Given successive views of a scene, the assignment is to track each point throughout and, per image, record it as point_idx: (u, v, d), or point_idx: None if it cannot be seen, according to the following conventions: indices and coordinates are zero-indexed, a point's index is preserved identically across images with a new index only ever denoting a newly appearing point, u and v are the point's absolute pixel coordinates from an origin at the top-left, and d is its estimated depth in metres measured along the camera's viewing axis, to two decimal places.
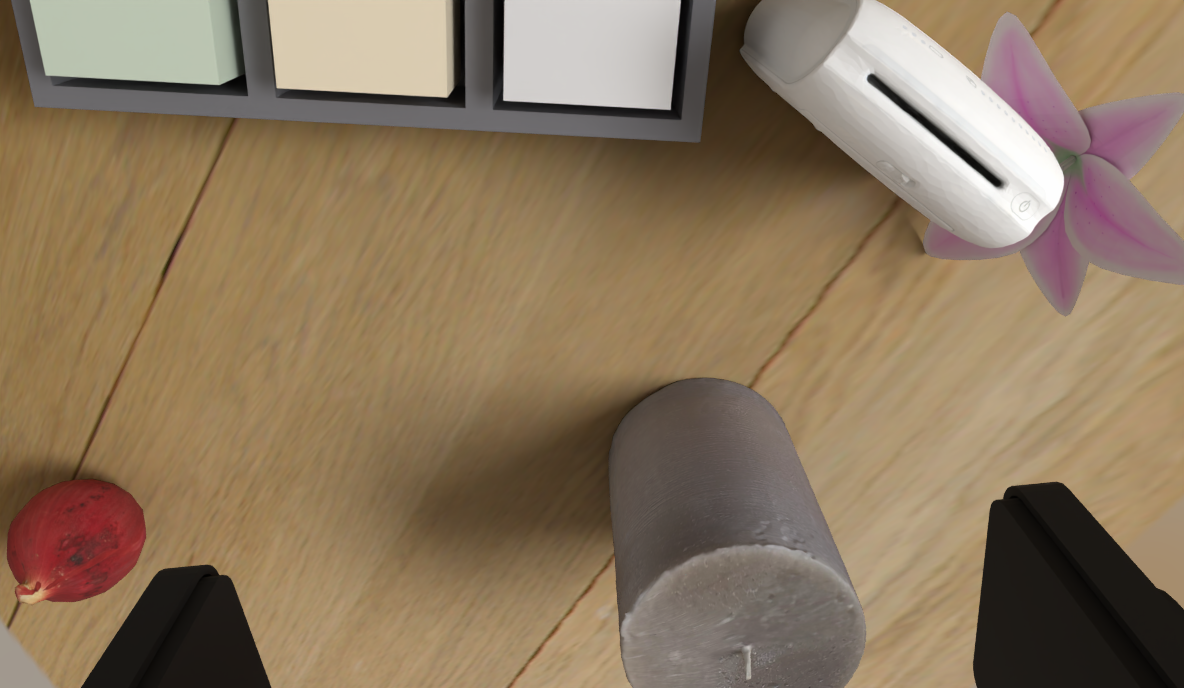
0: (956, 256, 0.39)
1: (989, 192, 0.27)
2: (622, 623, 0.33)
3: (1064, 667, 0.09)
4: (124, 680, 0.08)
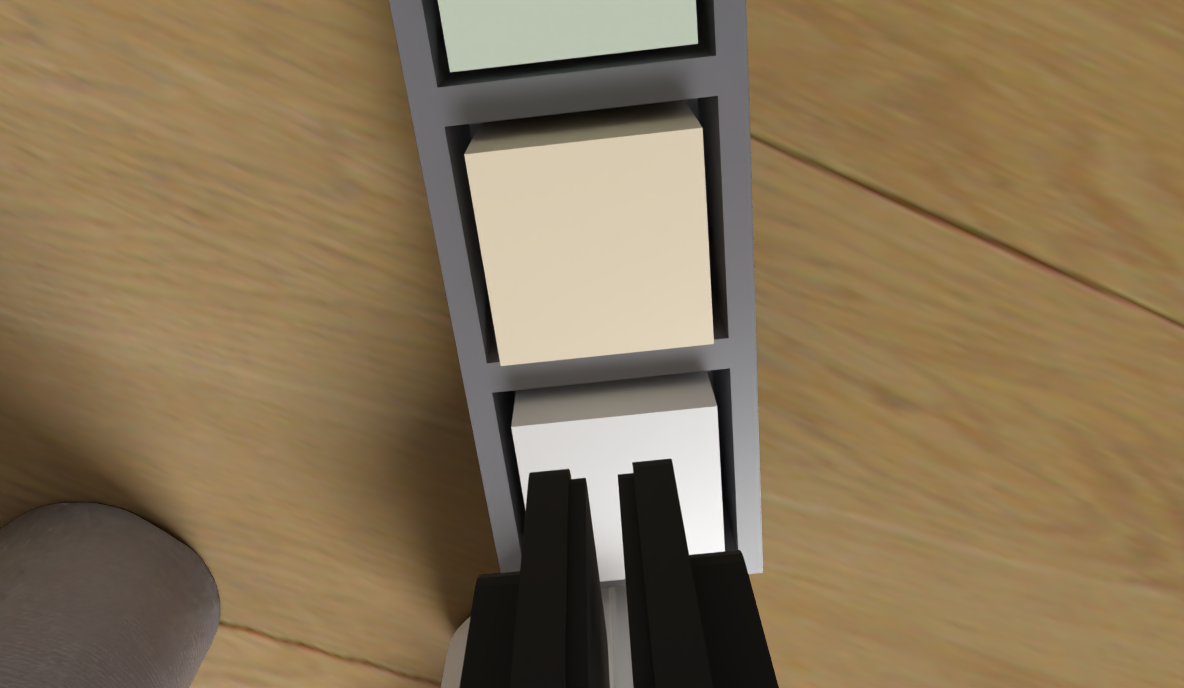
0: None
1: None
2: None
3: None
4: (559, 554, 0.09)
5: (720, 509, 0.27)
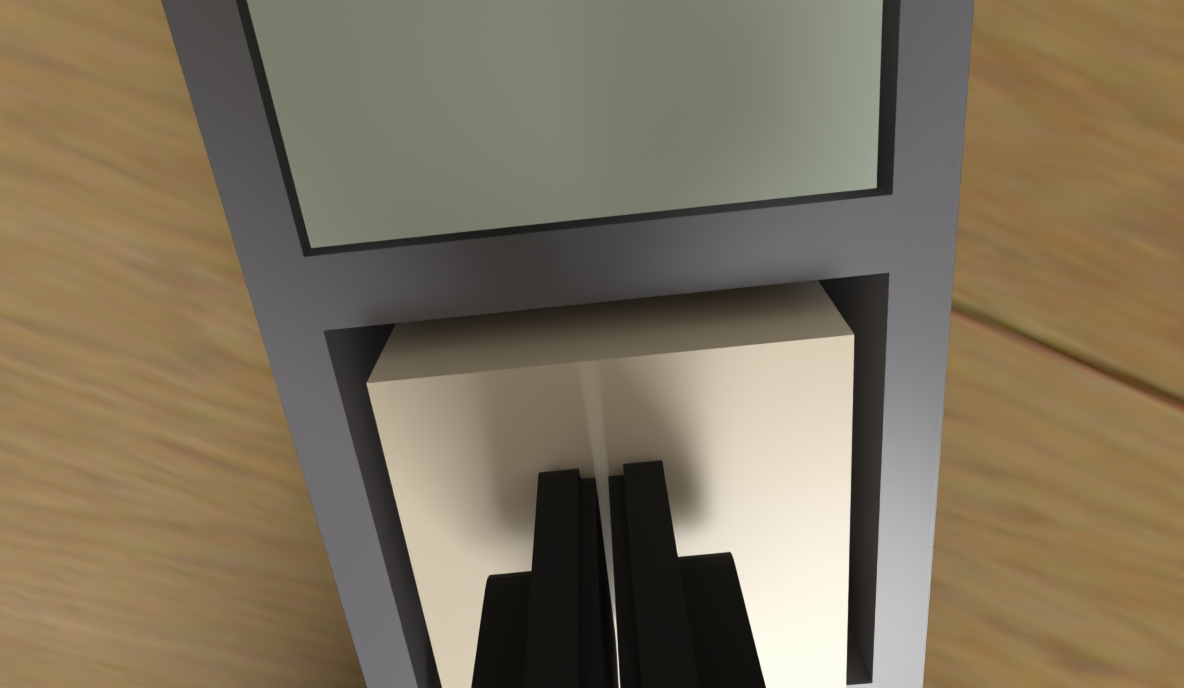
0: None
1: None
2: None
3: None
4: (570, 554, 0.09)
5: None
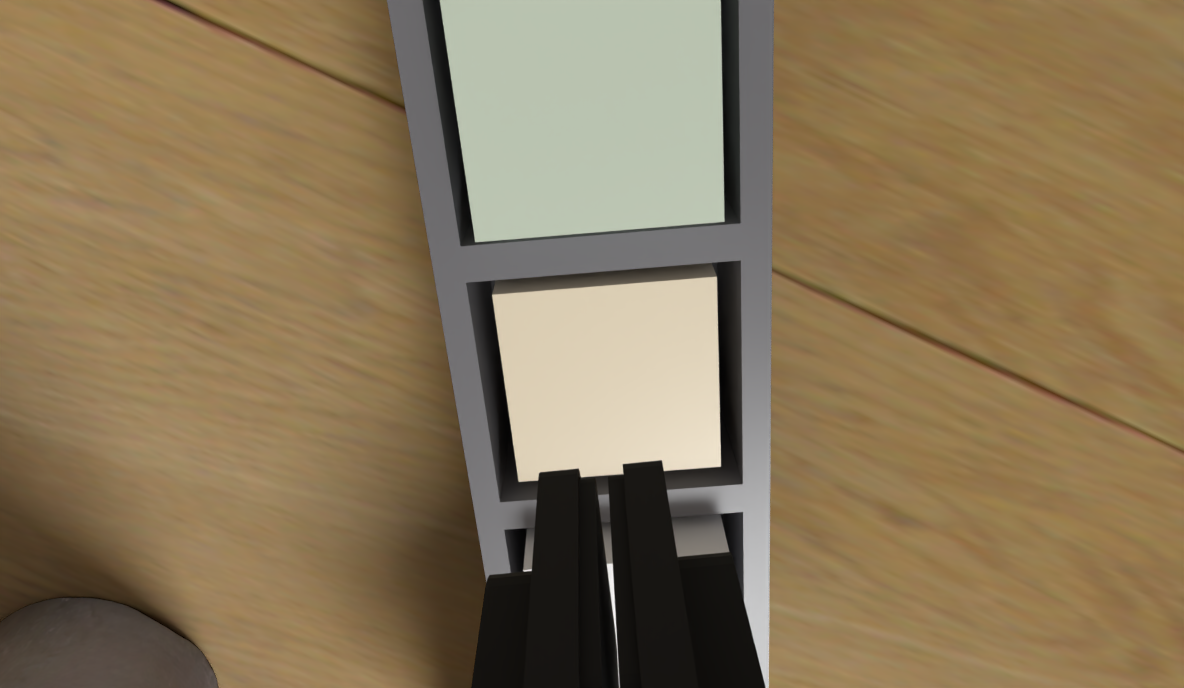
0: None
1: None
2: None
3: None
4: (571, 554, 0.09)
5: None
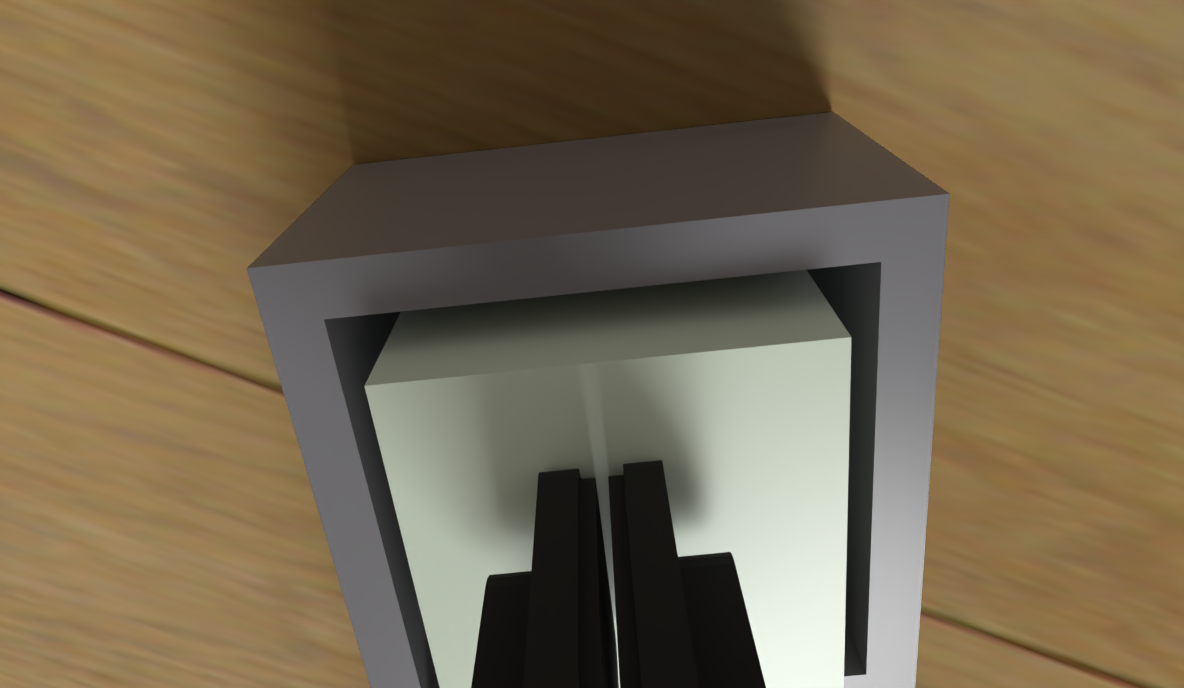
0: None
1: None
2: None
3: None
4: (570, 554, 0.09)
5: None
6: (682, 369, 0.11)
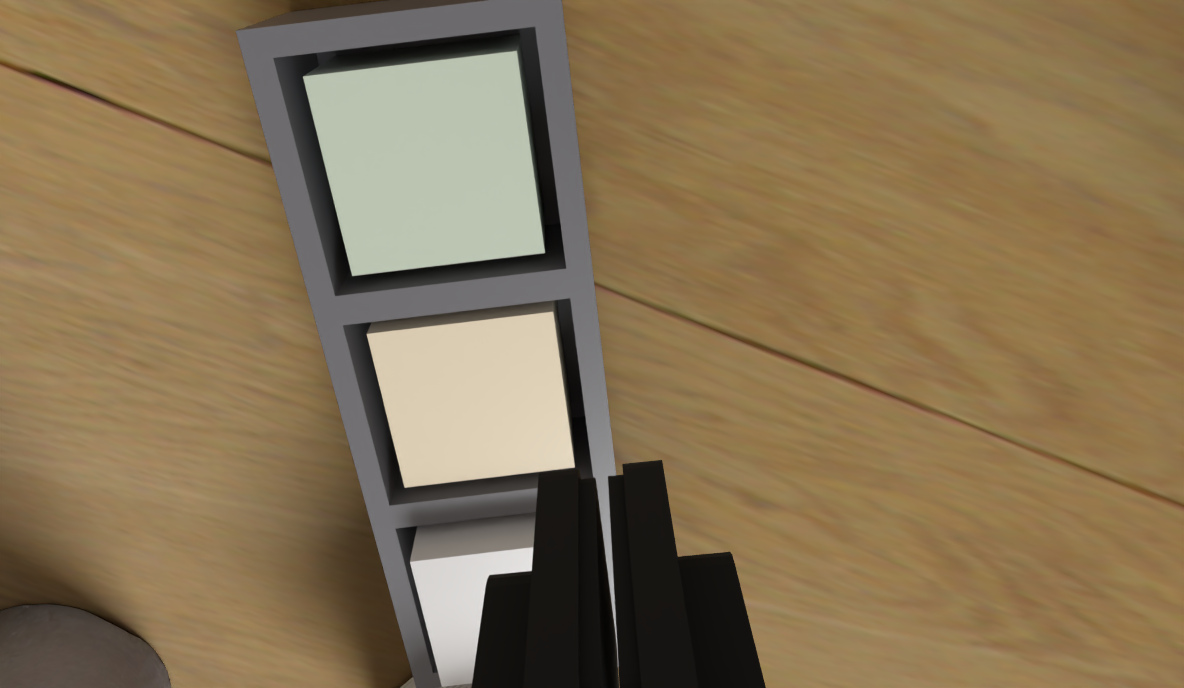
0: None
1: None
2: None
3: None
4: (571, 554, 0.09)
5: None
6: (444, 67, 0.24)
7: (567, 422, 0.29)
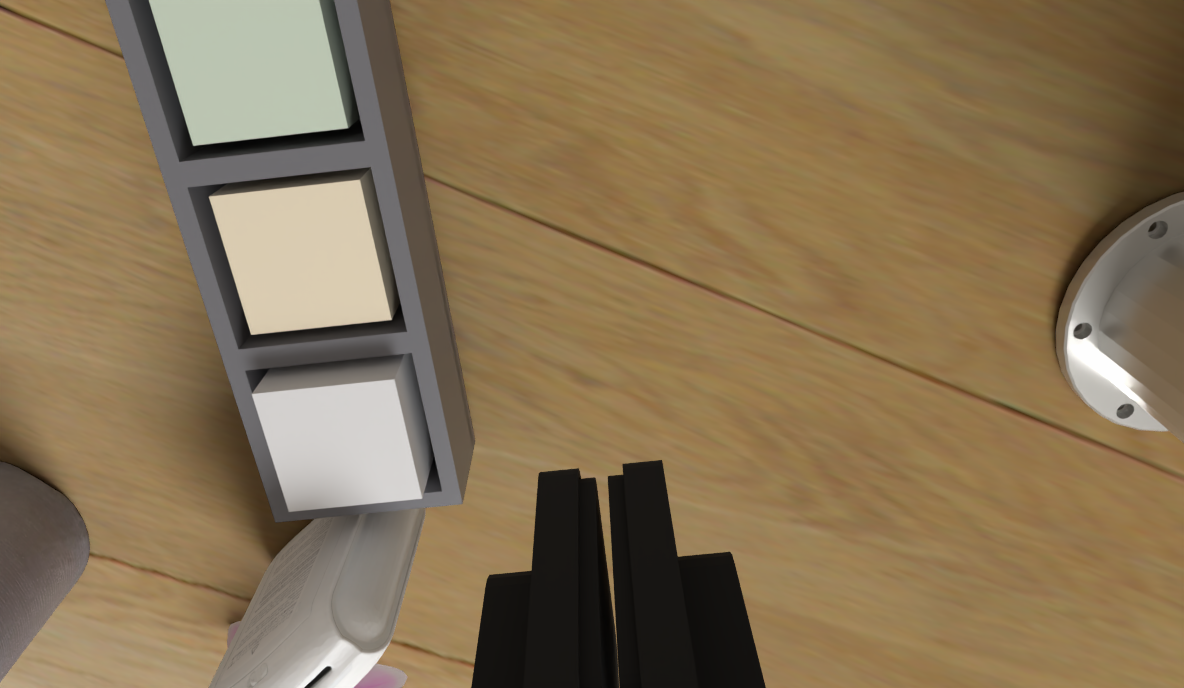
0: None
1: None
2: None
3: None
4: (571, 554, 0.09)
5: (410, 453, 0.37)
6: None
7: (381, 278, 0.35)
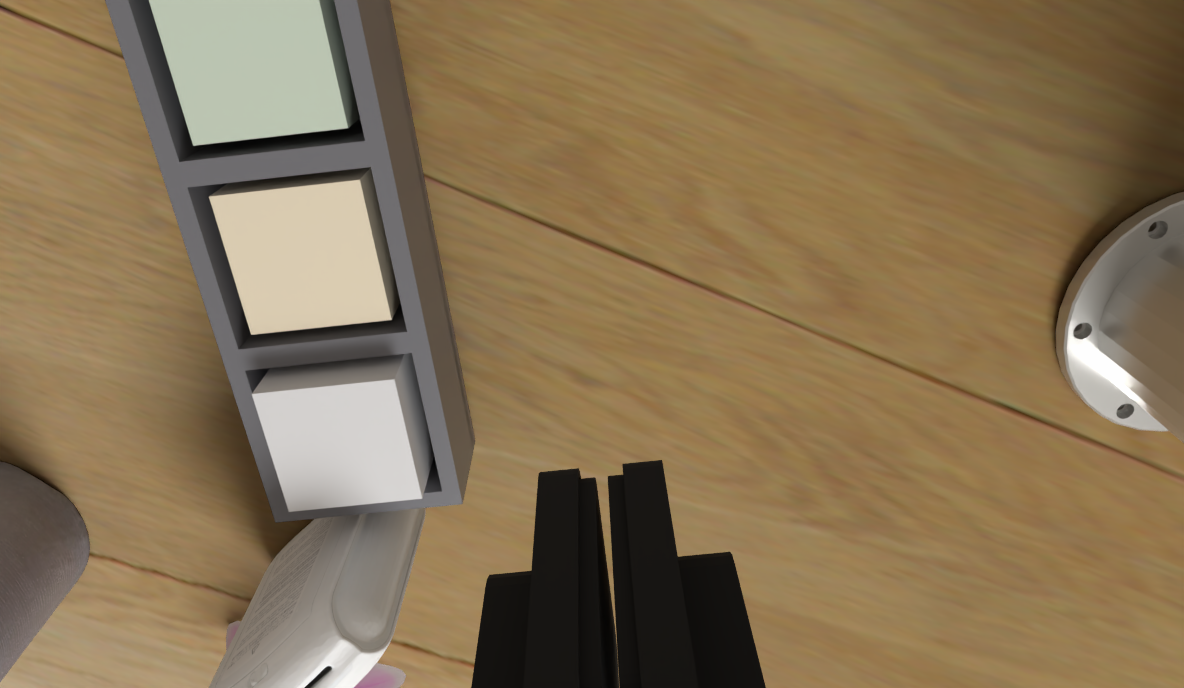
0: None
1: None
2: None
3: None
4: (571, 554, 0.09)
5: (410, 453, 0.37)
6: None
7: (381, 278, 0.35)
